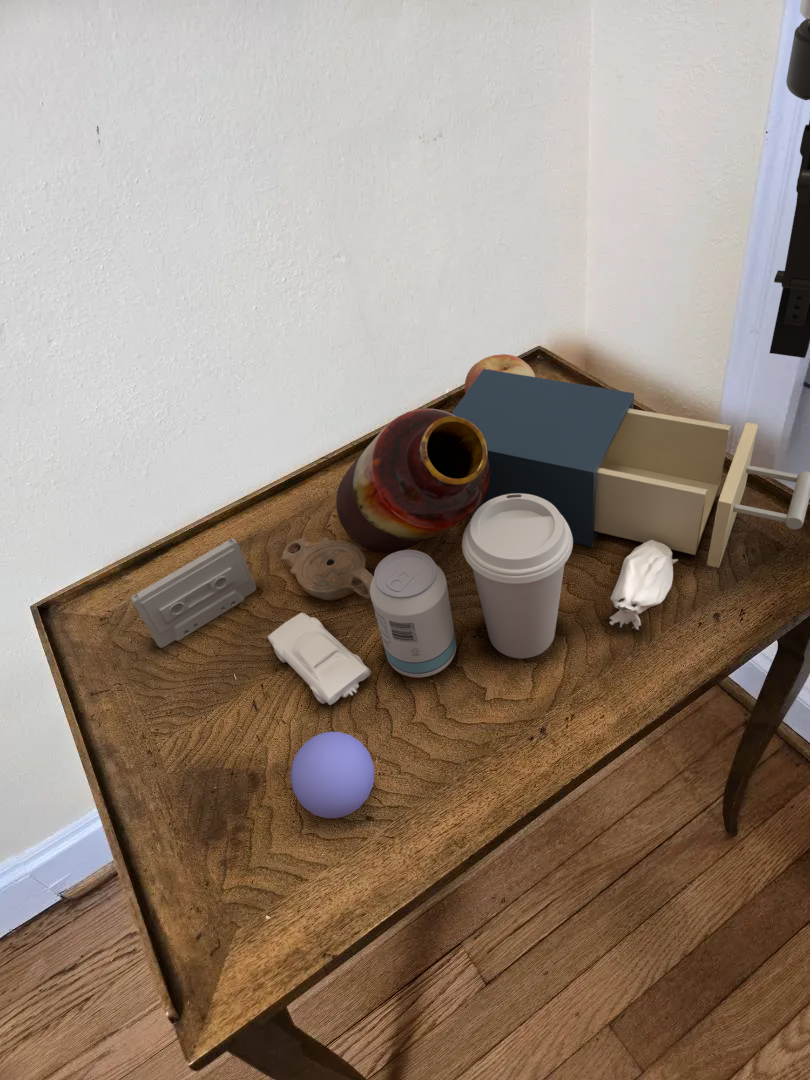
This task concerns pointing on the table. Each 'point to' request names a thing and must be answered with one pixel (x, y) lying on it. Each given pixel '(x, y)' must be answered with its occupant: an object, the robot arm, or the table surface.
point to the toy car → (318, 658)
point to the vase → (414, 481)
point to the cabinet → (546, 440)
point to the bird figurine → (642, 581)
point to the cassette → (195, 593)
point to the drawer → (681, 483)
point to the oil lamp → (328, 568)
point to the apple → (498, 367)
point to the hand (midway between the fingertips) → (788, 350)
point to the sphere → (332, 774)
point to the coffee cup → (518, 570)
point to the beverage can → (413, 613)
